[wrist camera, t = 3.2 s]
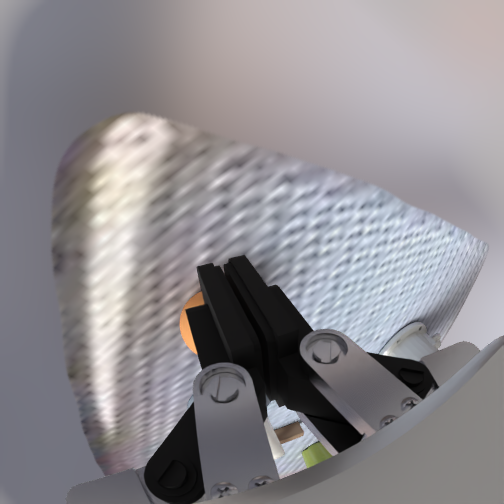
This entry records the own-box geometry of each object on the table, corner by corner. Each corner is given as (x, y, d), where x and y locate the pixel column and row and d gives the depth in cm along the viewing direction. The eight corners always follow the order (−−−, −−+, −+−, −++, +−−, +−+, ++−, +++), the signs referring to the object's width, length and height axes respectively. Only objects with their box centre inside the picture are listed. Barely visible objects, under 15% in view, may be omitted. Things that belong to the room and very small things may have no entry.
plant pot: (333, 431, 52) (352, 459, 44) (328, 445, 56) (344, 471, 49) (295, 448, 50) (312, 479, 42) (294, 460, 54) (309, 487, 47)
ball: (235, 268, 25) (260, 308, 20) (242, 319, 28) (264, 362, 23) (168, 284, 23) (176, 330, 18) (184, 335, 26) (195, 381, 21)
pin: (259, 396, 35) (285, 449, 27) (260, 405, 36) (284, 455, 28) (242, 402, 34) (266, 456, 27) (244, 410, 35) (267, 462, 28)
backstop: (297, 421, 42) (303, 432, 40) (297, 425, 43) (303, 435, 41) (187, 454, 37) (190, 466, 35) (189, 457, 38) (192, 469, 36)
